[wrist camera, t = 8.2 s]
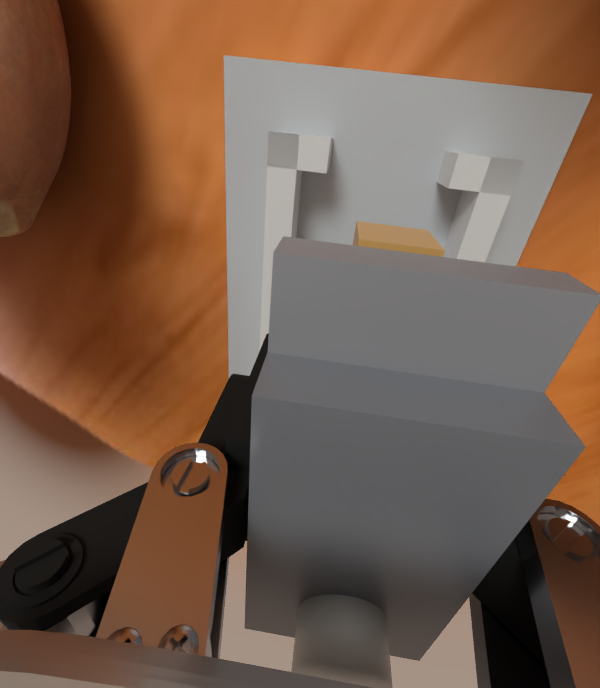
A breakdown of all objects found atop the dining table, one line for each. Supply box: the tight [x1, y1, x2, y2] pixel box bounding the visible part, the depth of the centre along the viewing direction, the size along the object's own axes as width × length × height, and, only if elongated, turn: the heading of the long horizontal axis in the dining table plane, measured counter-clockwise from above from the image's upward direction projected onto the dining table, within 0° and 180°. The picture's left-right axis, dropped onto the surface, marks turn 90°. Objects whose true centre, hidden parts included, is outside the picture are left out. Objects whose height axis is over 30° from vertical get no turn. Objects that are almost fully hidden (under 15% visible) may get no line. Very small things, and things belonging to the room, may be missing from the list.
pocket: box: [224, 55, 593, 378], centre depth 15 cm, size 12×16×2 cm
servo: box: [245, 221, 600, 688], centre depth 8 cm, size 4×10×6 cm, turn 174°
